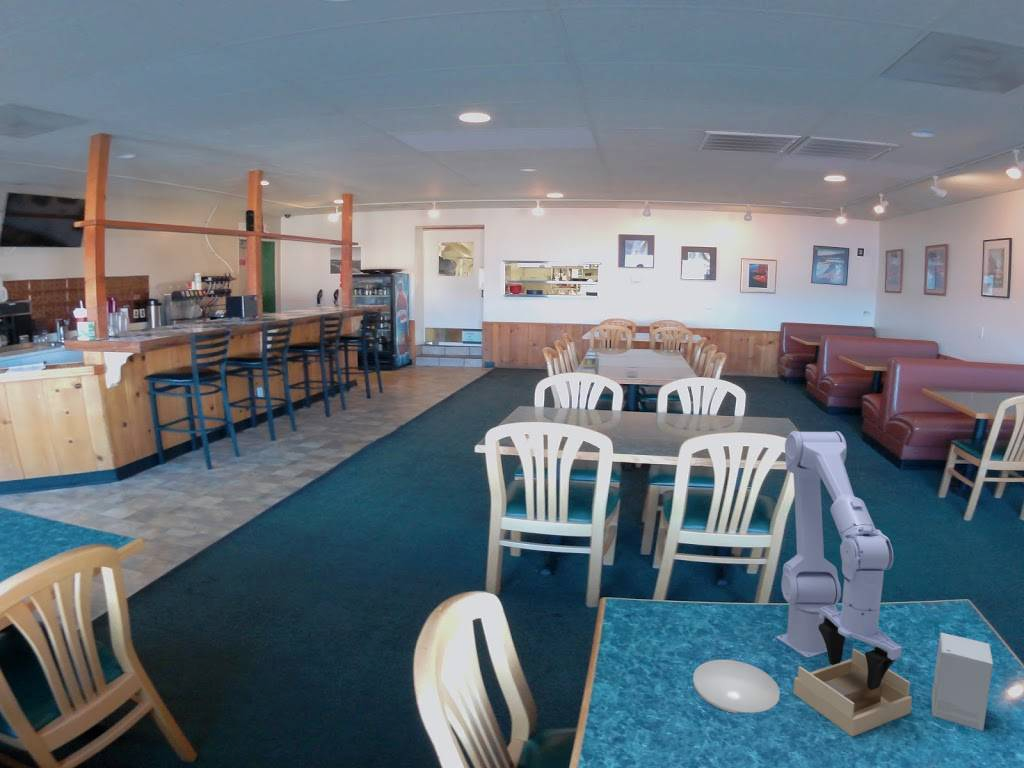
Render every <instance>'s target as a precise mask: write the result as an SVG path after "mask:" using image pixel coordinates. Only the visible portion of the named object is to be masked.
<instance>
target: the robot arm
mask: <svg viewBox="0 0 1024 768" xmlns="http://www.w3.org/2000/svg"><path fill="white" fill-rule="evenodd" d="M847 449H848V448H847V441H846V438H845V437H844V435H843V433H841V431H837V430H836V431H798V430H792V431H790V432H789V434H788V435H787V438H786V439H785V442H784V451H785V452H784V454H785V466H786V471H787V472H790V473H791V474H793V488H794V489H793V490H794V492H793V493H794V511H795V512H794V513H795V531H796V532H795V534H796V537H795V538H796V539H795V540H796V555H794V556H793V557H792V558H790V559H789V560H788V561H786V562H785V563H784V564H783V567H782V576H781V584H780V585H781V592H782V596H783V598H784V600H785V601H786V602H787V603H788V604H789V606H788V617H787V618H788V619H787V628H786V633H783V634H781V635H777V636H776V639H777V640H778V641H781V642H782V643H783V644H785V645H786V646H788V647H789V648H792V649H793V650H794V651H796V652H797V653H799V654H800V655H802V656H804V657H806V658H811V657H814V656H817V655H821V654H824V653H827V656H828V661H829V664H830V666H831V665H835V664H838V663H841V662H842V659H843V655H844V654H843V653H844V646H845V640H846V638H853V639H856V640H858V641H861V642H864V643H866V644H868V645H869V646H871V647H873V648H874V649H872V650H869V651H866V652H865V653H864V655H865V656H866V660H867V665H868V677H867V687H868V689H870V690H873V689H876V688H879V686H880V683H881V681H882V679H883V677H884V675H885V673H886V671H887V670H888V669H889V668H890V667H891V666H892V664H893V663H894V662H896V661H897V659H900V658H901V657H902V650H903V649H902V648H903V647H902V646H901V645H900V644H898V643H896V642H894V640H893V639H891V638H890V637H889V636H888V635H886V633H884V632H883V631H882V630H881V629H880V628H879V620H880V612H881V610H880V609H881V601H882V592H883V583H884V573H885V572H884V571H887V570H890V569H891V568H892V567H893V563H894V557H895V556H894V550H893V546H892V544H891V540H890V539H889V537H888V536H886V535H885V534H883V533H882V531H881V530H880V529H878V528H877V529H876V526H875V524H874V522H873V520H872V518H871V516H870V513H869V511H868V508H867V506H866V504H865V502H864V501H863V499H861V498H860V497H856V496H855V494H854V492H853V488H852V485H851V482H850V481H851V480H850V479H849V474H848V473H847V469H846V466H845V462H846V459H847ZM821 480H822V482H823V484H824V485H825V488H826V490H827V492H828V494H829V495H830V497H831V500H832V501H833V503H832V504H831V506H830V510H829V511H830V513H831V516H832V518H833V519H832V520H833V521H834V523H835V526H836V529H837V532H838V533H839V536H840V538H841V544H840V546H839V553H840V558H841V571H842V575H843V576H844V579H843V580H844V581H843V588H842V587H841V583H840V581H839V576H838V570H837V569H838V568H837V567H836V566H835V565H834V564H833V563H831V562H830V561H829V560H827V558H825V555H824V554H825V552H824V550H825V549H824V533H823V532H824V531H823V514H822V513H823V512H822V511H823V508H822V491H821V490H822V487H821V486H822V485H821ZM842 590H843V591H842ZM841 596H842V601H841V610H838V608H837V606H836V605H837V604H838V603H839V602H840V600H841Z"/></svg>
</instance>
